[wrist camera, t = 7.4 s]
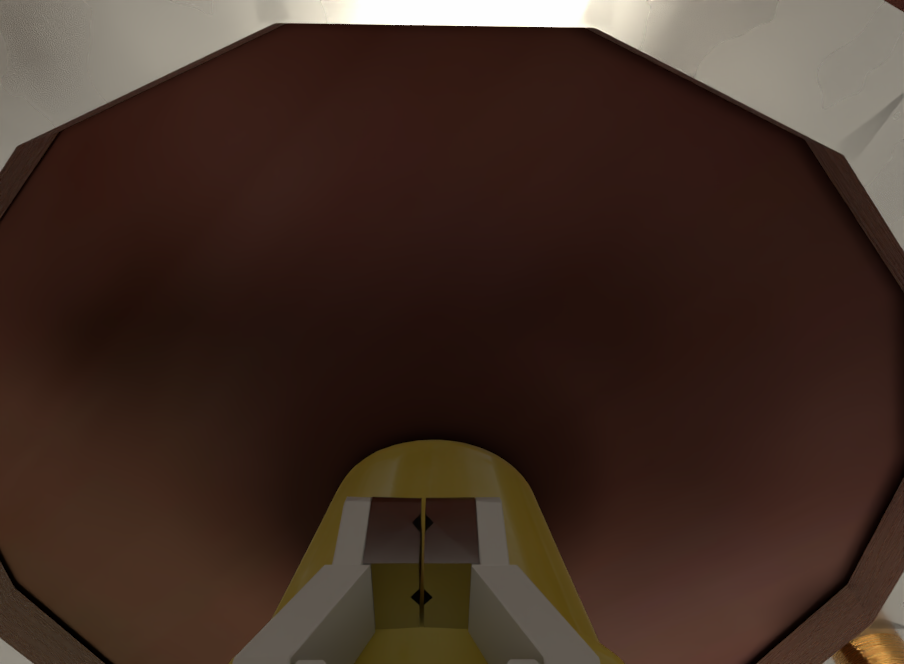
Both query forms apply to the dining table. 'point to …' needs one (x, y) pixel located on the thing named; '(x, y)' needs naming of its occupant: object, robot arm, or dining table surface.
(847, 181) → the ring
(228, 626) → the dining table surface
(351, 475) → the plant pot
